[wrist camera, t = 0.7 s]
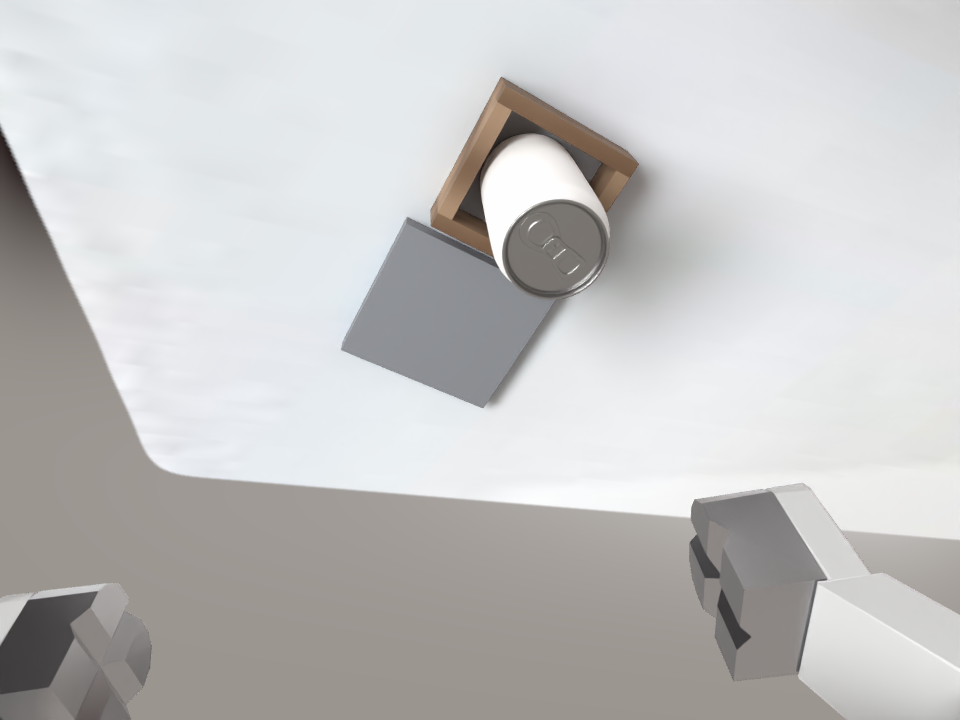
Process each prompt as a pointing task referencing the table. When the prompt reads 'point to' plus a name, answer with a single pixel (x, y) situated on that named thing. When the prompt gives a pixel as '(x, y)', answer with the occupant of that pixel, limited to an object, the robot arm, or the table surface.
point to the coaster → (444, 316)
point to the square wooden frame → (481, 140)
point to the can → (543, 218)
